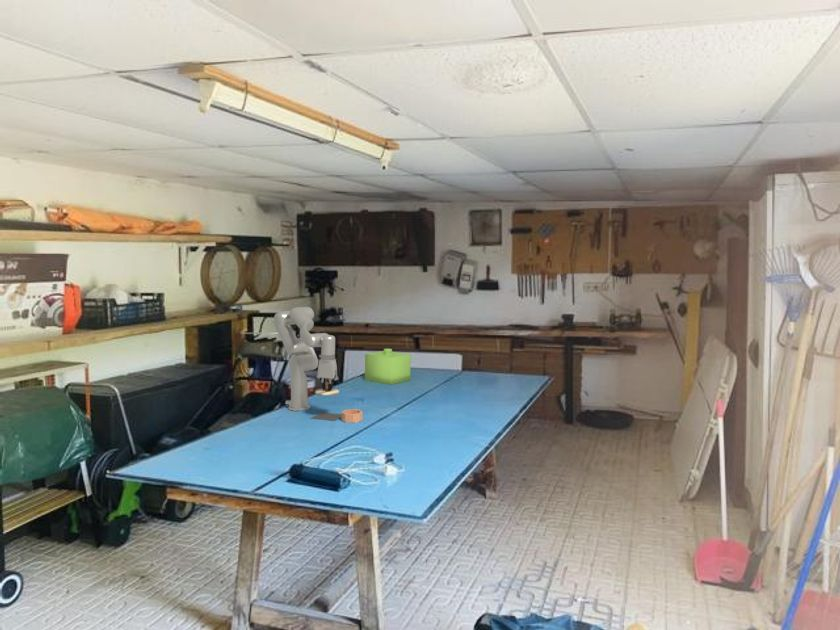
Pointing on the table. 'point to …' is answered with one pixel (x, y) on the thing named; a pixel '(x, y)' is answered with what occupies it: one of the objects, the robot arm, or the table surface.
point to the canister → (387, 367)
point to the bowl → (352, 415)
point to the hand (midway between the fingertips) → (327, 389)
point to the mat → (327, 416)
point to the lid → (326, 392)
